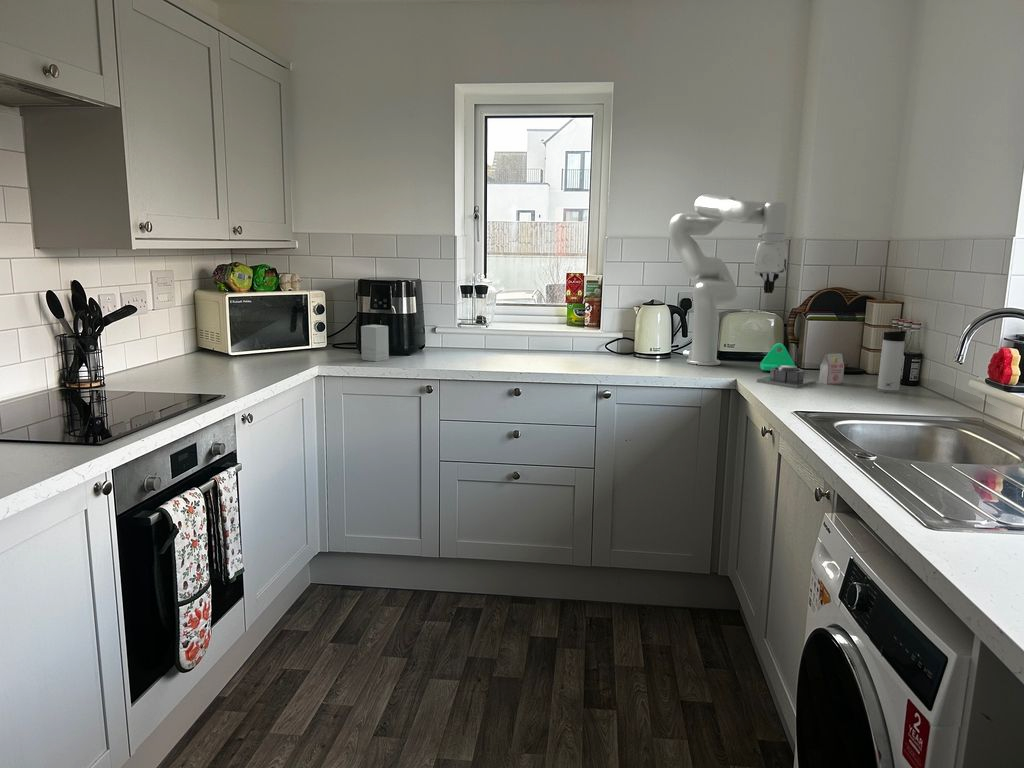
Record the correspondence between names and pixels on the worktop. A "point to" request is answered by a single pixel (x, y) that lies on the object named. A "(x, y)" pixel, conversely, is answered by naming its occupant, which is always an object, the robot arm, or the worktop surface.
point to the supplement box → (374, 342)
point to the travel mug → (891, 362)
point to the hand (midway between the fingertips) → (768, 292)
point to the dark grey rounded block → (787, 368)
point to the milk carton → (831, 369)
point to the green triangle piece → (776, 358)
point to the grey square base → (787, 378)
